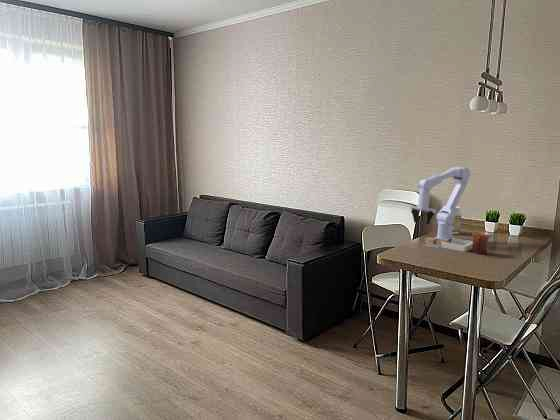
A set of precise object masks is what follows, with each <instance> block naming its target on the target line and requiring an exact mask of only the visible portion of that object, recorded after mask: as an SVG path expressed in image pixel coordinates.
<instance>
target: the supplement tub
mask: <svg viewBox="0 0 560 420" xmlns="http://www.w3.org/2000/svg"><path fill="white" fill-rule="evenodd" d="M445 206H446V205H443V206H442V208H444V207H445ZM454 212H455V213H456V216H455V220H454V222H453V223H452V227H453V230H452V235H458V234H459V233H460V232H461V224H462V212H461V206H456V208H455V210H454Z"/></svg>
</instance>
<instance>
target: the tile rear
mask: <svg viewBox="0 0 560 420" xmlns="http://www.w3.org/2000/svg"><path fill="white" fill-rule="evenodd" d="M436 240H438V239H437V238H435V237H426V238H425V239H424V242H425V244H426V243H430V244H436Z"/></svg>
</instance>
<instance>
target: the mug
mask: <svg viewBox="0 0 560 420" xmlns="http://www.w3.org/2000/svg"><path fill="white" fill-rule="evenodd" d="M471 234H472V241H473V243H472V249H471V251H472V253H474V254H477V255H485V254H487V253H488V248H489V239H490V237H491V234H490V233H488V232H481V231H473V232H472V233H471Z"/></svg>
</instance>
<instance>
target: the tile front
mask: <svg viewBox="0 0 560 420" xmlns="http://www.w3.org/2000/svg"><path fill="white" fill-rule="evenodd" d="M441 242H447V243H450V242H449V240H443V239H437V240H436V243H435V244H436V245H441Z"/></svg>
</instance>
